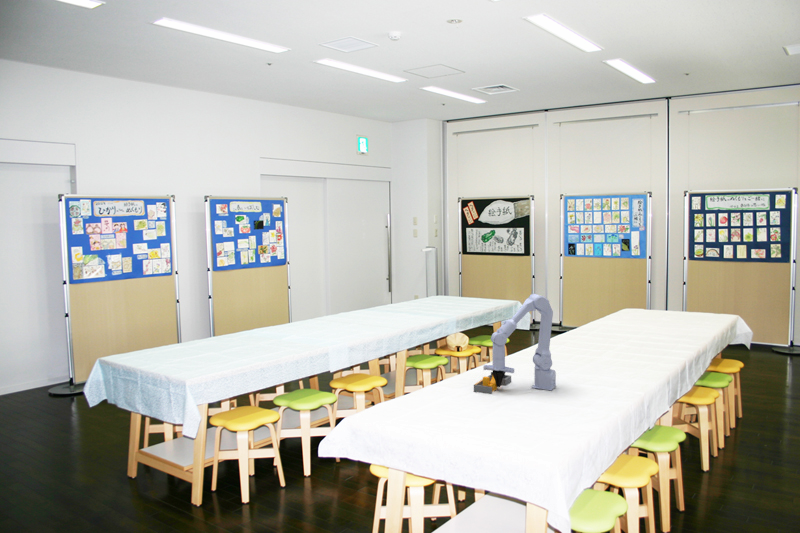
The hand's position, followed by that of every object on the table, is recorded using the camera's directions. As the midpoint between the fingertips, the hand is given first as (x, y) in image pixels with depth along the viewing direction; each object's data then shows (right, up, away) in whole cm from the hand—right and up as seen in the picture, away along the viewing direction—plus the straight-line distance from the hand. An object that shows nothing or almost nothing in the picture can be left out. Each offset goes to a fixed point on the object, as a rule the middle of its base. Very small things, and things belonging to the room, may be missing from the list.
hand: (498, 386), depth 274 cm
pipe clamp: (-2, -2, +2) cm, 4 cm away
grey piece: (-2, -1, +5) cm, 5 cm away
